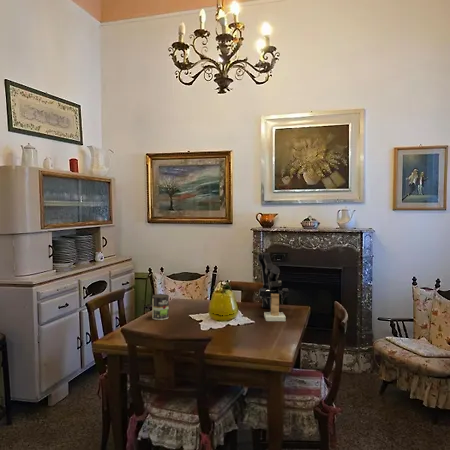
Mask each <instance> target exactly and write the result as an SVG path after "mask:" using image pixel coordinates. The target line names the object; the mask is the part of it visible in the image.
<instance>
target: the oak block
mask: <svg viewBox="0 0 450 450" xmlns="http://www.w3.org/2000/svg"><path fill="white" fill-rule="evenodd" d="M270 312H271V315H272V316H279V312H280V294H276V293H271V308H270Z"/></svg>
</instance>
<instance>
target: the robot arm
mask: <svg viewBox="0 0 450 450" xmlns="http://www.w3.org/2000/svg"><path fill="white" fill-rule="evenodd" d="M270 254H271V253H269V252H263V253H261V254H258V255H257V257H256V259H257V260H256V261H257V263H258V265H259V267H260V270H261V277H262V279H261V280H262V287H260V288H259V289H258V296H259V298H260V299H261V300H262V304H261V308H262V309H271V293H276V294H279V295H281V304H282V305H283V304H284V300H285V298H288V297H289V293H290V290H289V288H285V287H283V288H282V289H281V290H279V289H280V287H281V286H282V280H278V278H279V275H280V273H281V270H280V268H279V267H278V266H277V265H275V264H273V263H272V259H271V255H270Z"/></svg>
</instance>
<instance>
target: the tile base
mask: <svg viewBox="0 0 450 450" xmlns="http://www.w3.org/2000/svg"><path fill="white" fill-rule="evenodd" d="M263 312H264V313H263V314H264V315H263V317H264V320H265V321H266V322H286V318H287V317H286V315H285V314H284V312H283V311H281V312H280V311H279V316H272V315H271V311H263Z"/></svg>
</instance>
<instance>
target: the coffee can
mask: <svg viewBox="0 0 450 450" xmlns="http://www.w3.org/2000/svg"><path fill="white" fill-rule="evenodd" d="M151 297H152V301H151V304H152V307H151V308H152V311H151V312H152V313H151V314H152V315H151V316H152V317H151V318H152V319H153V320H156V321H164V320H168V319H169V315H170V313H169V310H170V308H169V306H170V305H169V299H170V298H169V297H170V295H168V294H165V293H158V294H157V293H156V294H153V295H152V296H151Z"/></svg>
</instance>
